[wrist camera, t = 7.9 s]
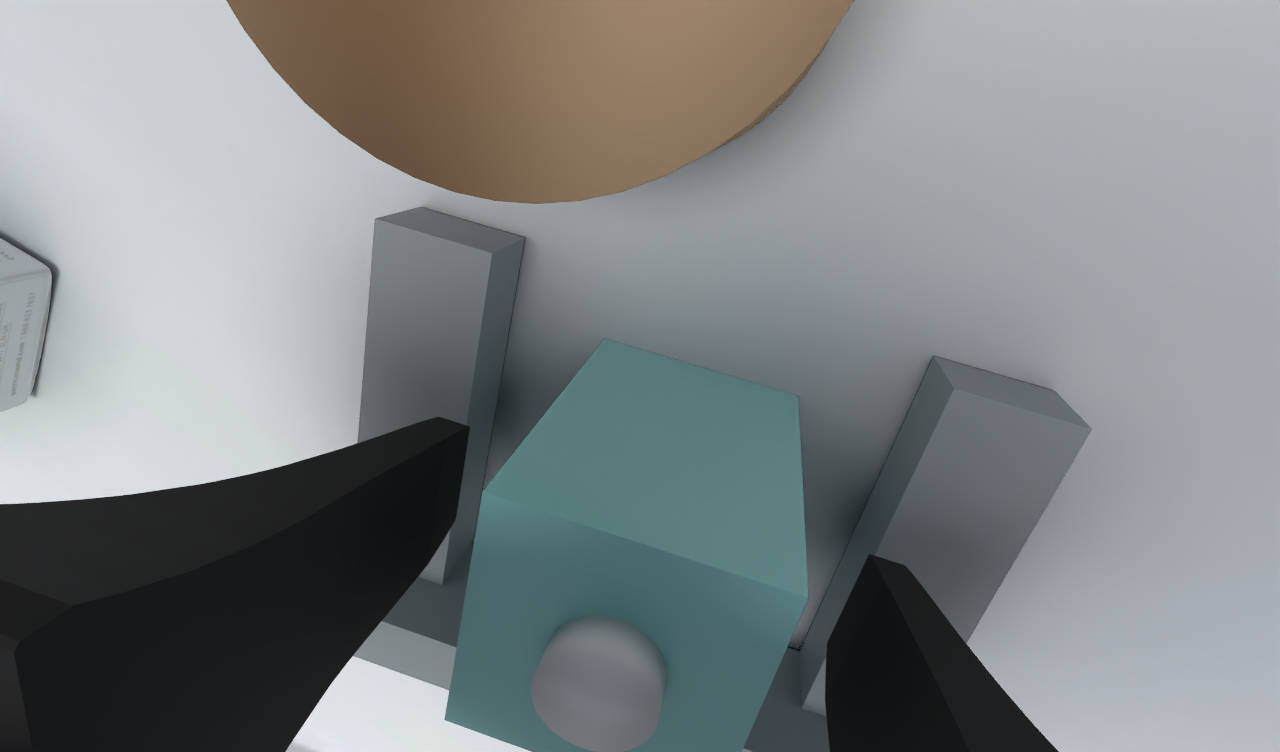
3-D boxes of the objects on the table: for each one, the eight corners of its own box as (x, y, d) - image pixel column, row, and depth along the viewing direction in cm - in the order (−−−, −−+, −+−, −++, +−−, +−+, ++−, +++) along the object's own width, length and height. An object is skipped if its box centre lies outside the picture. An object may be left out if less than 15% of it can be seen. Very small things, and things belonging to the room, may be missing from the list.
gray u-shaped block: (1054, 390, 12) (1134, 472, 9) (874, 719, 16) (894, 850, 13) (420, 206, 13) (325, 231, 10) (384, 552, 17) (306, 639, 14)
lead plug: (798, 395, 13) (810, 635, 7) (739, 555, 15) (708, 861, 9) (604, 338, 13) (460, 519, 7) (567, 499, 15) (424, 756, 9)
